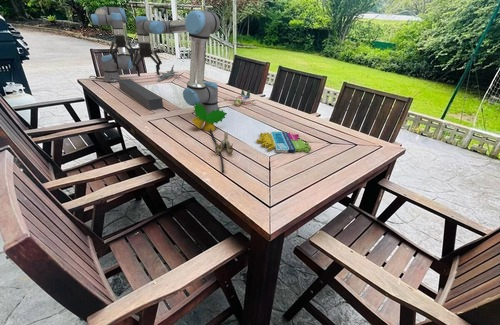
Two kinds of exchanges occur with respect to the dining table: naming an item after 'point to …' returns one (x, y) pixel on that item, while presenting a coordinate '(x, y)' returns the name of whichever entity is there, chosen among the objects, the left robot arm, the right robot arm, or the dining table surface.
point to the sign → (283, 142)
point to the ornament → (207, 117)
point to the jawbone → (224, 145)
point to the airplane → (167, 74)
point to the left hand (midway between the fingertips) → (123, 62)
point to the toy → (241, 99)
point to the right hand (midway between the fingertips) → (148, 75)
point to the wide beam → (141, 94)
